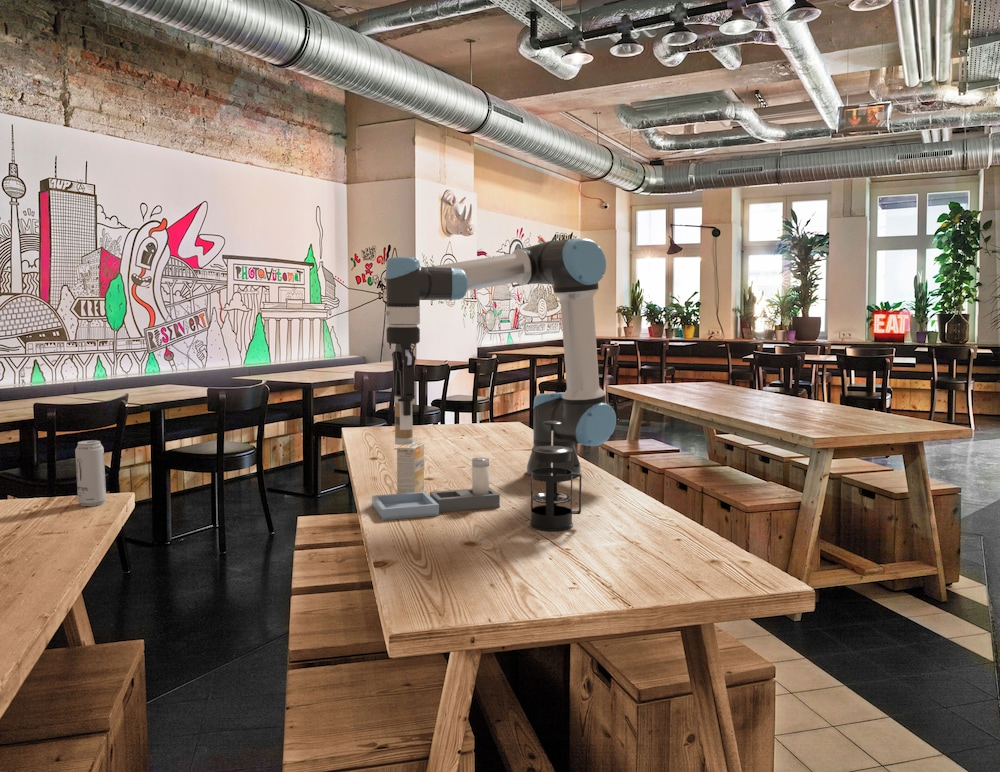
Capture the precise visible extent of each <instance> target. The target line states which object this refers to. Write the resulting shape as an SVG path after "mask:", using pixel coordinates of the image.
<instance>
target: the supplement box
mask: <svg viewBox="0 0 1000 772" xmlns="http://www.w3.org/2000/svg"><path fill="white" fill-rule="evenodd" d="M414 492H425V443H424V442H413V444H409V445H399V447H398V446H397V447H396V494H401V493H414Z"/></svg>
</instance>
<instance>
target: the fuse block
mask: <svg viewBox="0 0 1000 772" xmlns="http://www.w3.org/2000/svg"><path fill="white" fill-rule="evenodd" d="M429 496H430V497H431V498H433V499H434V500H435V501H436V502H437V503H438V504H439V513H446V512H458V511H470V510H481V509H494V508H500V507H501V505H500V504H501V503H500V501H501V500H500V499H501V497H500V493H498V492H497V491H496V490H494V489H493V488H491V487H490V486H489V494H483V495H473V494H472V488H464V489H463V488H462V489H461V488H460V489H450V490H449V489H447V490H436V491H435V490H434V491H429Z"/></svg>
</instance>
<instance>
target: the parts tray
mask: <svg viewBox="0 0 1000 772" xmlns="http://www.w3.org/2000/svg"><path fill="white" fill-rule="evenodd" d="M371 506H372V508H373V510H375V512H376V513H377V515H378V517H380V519H381V520H382V521H391V520H400V519H413V518H414V519H415V518H425V517H436V516H439V515H440V512H439V504H438V503H437V502H436V501H435V500H434V499H433V498H431V497H430V494H428V493H427V491H424V492H414V493H401V494H397V493H392V494H389V493H388V494H376V495H371Z"/></svg>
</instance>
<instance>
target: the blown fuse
mask: <svg viewBox="0 0 1000 772" xmlns="http://www.w3.org/2000/svg"><path fill="white" fill-rule="evenodd" d="M398 399H401V395H396V396H395V395H394V444H395V445H399V446H402V445H409V444H413V443H414V440H413V439H414V438H413V437H414V436H413V433H414V431H413V429H414V428H413V426H414V425H413V424H414V423H413V422H414V421H413V420H414V419H413V415H412V429H411V430H400V402H398ZM413 400H414V399H413ZM413 400H412V404H413Z"/></svg>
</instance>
